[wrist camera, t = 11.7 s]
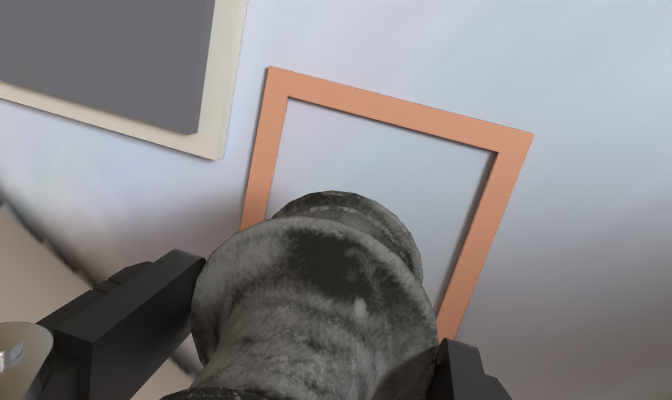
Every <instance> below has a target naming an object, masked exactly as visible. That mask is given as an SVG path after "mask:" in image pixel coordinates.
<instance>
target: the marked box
mask: <svg viewBox="0 0 672 400" xmlns="http://www.w3.org/2000/svg"><path fill="white" fill-rule="evenodd" d="M289 96H290V97H294V98H297V99H301V100H305V101H309V102H312V103H316V104H320V105H324V106H328V107H331V108H335V109H339V110H343V111H346V112H350V113H354V114H358V115H361V116H365V117H369V118H373V119H376V120H380V121H384V122H388V123H391V124H395V125H399V126H403V127H406V128H410V129H414V130H418V131H421V132H425V133H429V134H433V135H436V136H440V137H444V138H448V139H451V140H455V141H459V142H463V143H467V144H470V145H474V146H478V147H482V148H485V149H489V150H493V151H497V152H498V153H497V155H496V158H495V161H494V163H493V166H492V169H491V171H490V174H489V177H488V180H487V182H486V185H485V188H484V190H483V193H482V196H481V198H480V201H479V204H478V207H477V209H476V212H475V215H474V217H473V220H472V223H471V225H470V228H469V231H468V234H467V236H466V239H465V242H464V244H463V247H462V250H461V252H460V255H459V258H458V261H457V263H456V266H455V269H454V271H453V274H452V277H451V279H450V282H449V285H448V288H447V290H446V293H445V296H444V298H443V301H442V304H441V306H440V309H439V312H438V315H437V317H436V324H437V331H438V338H439V345H440V343H441V341H442V340H443V338H448V339H451V340H454V338H455V335H456V332H457V330H458V327H459V325H460V322H461V320H462V317H463V315H464V312H465V310H466V307H467V305H468V302H469V299H470V297H471V294H472V292H473V289H474V287H475V284H476V282H477V279H478V277H479V274H480V272H481V269H482V266H483V264H484V261H485V259H486V256H487V254H488V251H489V249H490V246H491V244H492V241H493V238H494V236H495V233H496V231H497V228H498V226H499V223H500V221H501V218H502V216H503V213H504V211H505V208H506V205H507V203H508V200H509V198H510V195H511V193H512V190H513V188H514V185H515V183H516V180H517V178H518V175H519V172H520V170H521V167H522V165H523V162H524V160H525V157H526V155H527V152H528V150H529V147H530V145H531V142H532V139H533V137H534V134H532V133H529V132H525V131H521V130H517V129H513V128H509V127H505V126H501V125H498V124H494V123H490V122H486V121H482V120H478V119H474V118H470V117H467V116H463V115H459V114H455V113H451V112H447V111H443V110H439V109H436V108H432V107H428V106H424V105H420V104H416V103H412V102H408V101H405V100H401V99H397V98H393V97H389V96H385V95H381V94H377V93H374V92H370V91H366V90H362V89H358V88H354V87H350V86H346V85H343V84H339V83H335V82H331V81H327V80H323V79H319V78H316V77H312V76H308V75H304V74H300V73H296V72H292V71H288V70H285V69H281V68H277V67H273V66H269V69H268V75H267V80H266V86H265V91H264V97H263V103H262V108H261V114H260V119H259V125H258V130H257V136H256V142H255V147H254V153H253V158H252V164H251V169H250V175H249V181H248V186H247V192H246V197H245V203H244V208H243V214H242V220H241V225H240V231H241V230H243V229H245V228H248V227H250V226H252V225H254V224H257V223H259V222H261V221H264V219H265V214H266V209H267V204H268V199H269V194H270V189H271V183H272V178H273V173H274V168H275V163H276V158H277V153H278V148H279V143H280V138H281V133H282V128H283V123H284V118H285V113H286V108H287V103H288V98H289Z"/></svg>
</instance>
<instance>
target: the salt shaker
mask: <svg viewBox="0 0 672 400" xmlns="http://www.w3.org/2000/svg"><path fill="white" fill-rule="evenodd" d="M422 281H423V271H422V265H421V258H420V253H419V251H418V249H417V246H416V244H415V242H414V240H413V238H412V235H411V233H410V232H409V231H408V230H407V228H406V227H405V226H404V225H403V224H402V222H401V221H400V220H399V219H398V218H397V216H396V215H394V214H393V213H392V212H390V211H389V210H387V209H386V208H385V207H383V206H382V205H380V204H379V203H378V202H376V201H373V200H371V199H368V198H366V197H363V196H361V195H358V194H355V193H349V192H341V191H332V190H331V191H324V192H317V193H310V194H307V195H305V196H303V197H300V198H298V199H296V200H294V201H291V202H289V203H288V204H287V205H286V206H285V207H283V208H282V209H281V210H280V211H279V212H277V213H276V214H275V215H274V216H273V217H272V218H271V219H268V220H264V221H261V222H259V223H257V224H254V225H252V226H250V227H248V228H245V229H243V230H241V231H238V232H236V233H235V234H234V235H233V236H231V237H230V238H229V239H228V240H227V241H226V242H224V243H223V244H222V245H221V246H220V247H219V248H217V249H216V250H215V251H214V252H213V253H212V254H211V255H210V257H209V259H208V260H207V262H206V264H205V265H204V267H203V268H202V270H201V272H200V273H199V275H198V276H197V279H196V283H195V287H194V291H193V296H192V300H191V307H190V313H191V333H192V336H193V340H194V343H195V346H196V349H197V353H198V356H199V359H200V361H201V363H202V365H203V367H204V369H203V370H202V372H201V373H200V374H199V376H198V377H197V378H196V380H195V381H194V382H193V384H192V385H191V386H190V388H189V389H185V390H182V391H179V392H176V393H173V394H170V395H167V396H164V397H162V398H161V399H160V400H423V399H424V397H425V395H426V393H427V391H428V389H429V387H430V385H431V383H432V380H433V378H434V375H435V372H436V367H437V361H438V355H439V349H440V345H439V338H438V331H437V324H436V317H435V312H434V310H433V308H432V306H431V304H430V302H429V299H428V297H427V295H426V293H425V291H424V289H423V286H422Z"/></svg>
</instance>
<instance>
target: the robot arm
mask: <svg viewBox="0 0 672 400" xmlns="http://www.w3.org/2000/svg"><path fill="white" fill-rule="evenodd" d="M205 264H206V260H205V258H202V257H199V256H196V255H193V254H190V253H187V252H184V251H181V250H178V249H174V250H172V251H171V252H169V253H168V254H166V255H165V256H163V257H162V258H160V259H159V260H157V261H156V262H154V263H152V262H149V261H147V262H143V263H140V264H136V265H133V266H129V267H126V268H124V269H122V270H121V271H119V272H118V273H116V274H114V275H113V276H111V277H110V278H108V280H107V281H103V282H101V283H100V284H98V285H97V286H95V287H93V290H89V291H87V292H85V293H84V294H82V295H81V296H79V297H77V298H76V299H74V300H72V301H71V302H69V303H68V304H66V305H64V306H63V307H61V308H59V309H58V310H56V311H55V312H53V313H52V314H50V315H48V316H47V317H45V318H43V319H42V320H40V321H38V322H37V323H35V324H33V323H29V322H4V323H0V400H130V399H131V398H132V397H133V396H134V394H135V393H136V392H137V391H138V390H139V389H140V388H141V387H142V386H143V385H144V384H145V382H146V381H147V380H148V379H149V378H150V377H151V376H152V375H153V374H154V373H155V371H156V370H157V369H158V368H159V367H160V366H161V365H162V364H163V363H164V362H165V361H166V360H167V359H168V357H169V356H170V355H171V354H172V353H173V352H174V351H175V350H176V349H177V348H178V347H179V345H180V344H181V343H182V342H183V341H184V340H185V339H186V338H187V337H188V335H189V334H190V332H191V313H190V307H191V300H192V296H193V291H194V287H195V283H196V279H197V276H198V275H199V273H200V272H201V270H202V268H203V267H204V265H205ZM423 400H512V399H511V397H510V396H509V395H508V393H507V392H506V390H505V389H504V388H503V386H502V385H501V383H500V382H499V381H498V379H497V378H494V377H491V376H488V375H485V374H484V371H483V366H482V362H481V358H480V354H479V350H478V349H477V348H476V347H473V346H470V345H467V344H464V343H461V342H458V341H454V340H451V339H448V338H443V340H442V341H441V343H440V349H439V355H438V361H437V367H436V372H435V375H434V378H433V380H432V383H431V385H430V387H429V389H428V391H427V393H426V395H425V397H424V399H423Z"/></svg>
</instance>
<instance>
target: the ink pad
mask: <svg viewBox="0 0 672 400" xmlns="http://www.w3.org/2000/svg"><path fill="white" fill-rule="evenodd" d="M247 4H248V0H0V98H3V99H7V100H10V101H14V102H17V103H20V104H24V105H27V106H31V107H34V108H37V109H41V110H44V111H48V112H51V113H55V114H58V115H61V116H65V117H68V118H72V119H75V120H78V121H82V122H85V123H89V124H92V125H95V126H99V127H102V128H106V129H109V130H113V131H116V132H119V133H123V134H126V135H130V136H133V137H136V138H140V139H143V140H147V141H150V142H153V143H157V144H160V145H164V146H167V147H171V148H174V149H177V150H181V151H184V152H188V153H191V154H194V155H198V156H201V157H205V158H208V159H211V160H218V159H221V158H223V157H224V151H225V144H226V138H227V131H228V125H229V119H230V112H231V106H232V100H233V93H234V87H235V80H236V74H237V68H238V61H239V55H240V48H241V42H242V36H243V29H244V23H245V17H246V10H247Z"/></svg>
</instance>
